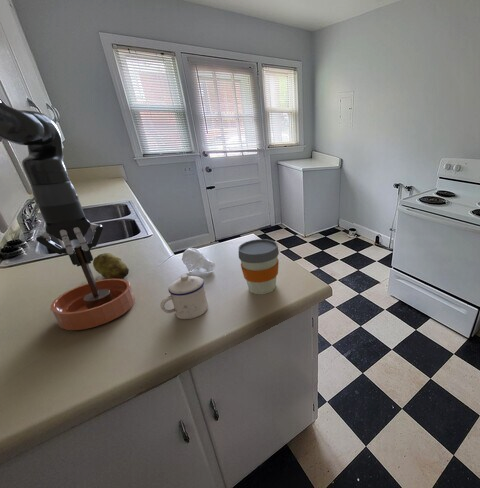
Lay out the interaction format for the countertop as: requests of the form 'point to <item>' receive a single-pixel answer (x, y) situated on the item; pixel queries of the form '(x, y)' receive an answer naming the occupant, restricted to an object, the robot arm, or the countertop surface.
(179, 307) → the teacup with lid
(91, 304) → the wooden tamper
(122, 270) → the potato
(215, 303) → the countertop surface
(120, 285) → the bowl
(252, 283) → the reusable coffee cup
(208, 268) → the crumpled white tissue
